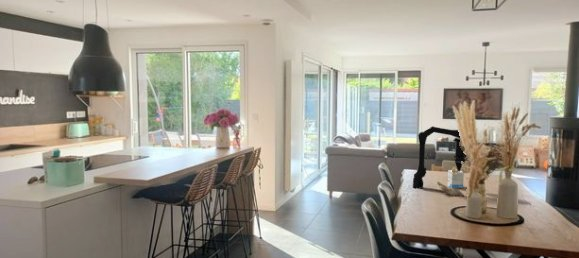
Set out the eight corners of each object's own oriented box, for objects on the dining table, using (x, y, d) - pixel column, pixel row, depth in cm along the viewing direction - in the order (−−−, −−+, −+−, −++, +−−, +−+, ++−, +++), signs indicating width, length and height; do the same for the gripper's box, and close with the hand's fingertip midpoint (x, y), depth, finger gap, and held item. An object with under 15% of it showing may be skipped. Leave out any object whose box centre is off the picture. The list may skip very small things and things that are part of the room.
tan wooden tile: (454, 196, 265) (454, 194, 265) (449, 189, 283) (449, 188, 283) (463, 196, 264) (463, 195, 264) (458, 190, 282) (458, 188, 281)
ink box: (463, 188, 288) (464, 169, 287) (451, 188, 288) (452, 169, 287) (458, 185, 297) (459, 167, 295) (447, 185, 297) (448, 167, 296)
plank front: (440, 188, 267) (441, 186, 266) (439, 186, 273) (440, 184, 273) (453, 195, 265) (454, 194, 265) (451, 193, 272) (452, 191, 272)
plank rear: (438, 185, 277) (439, 183, 277) (437, 182, 284) (438, 181, 283) (450, 192, 276) (451, 190, 275) (448, 189, 282) (449, 188, 282)
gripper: (473, 150, 268) (472, 173, 269) (471, 147, 285) (470, 169, 287) (455, 149, 271) (454, 172, 273) (454, 146, 289) (453, 167, 290)
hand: (458, 170), depth 281 cm, fingers open, 9 cm apart
